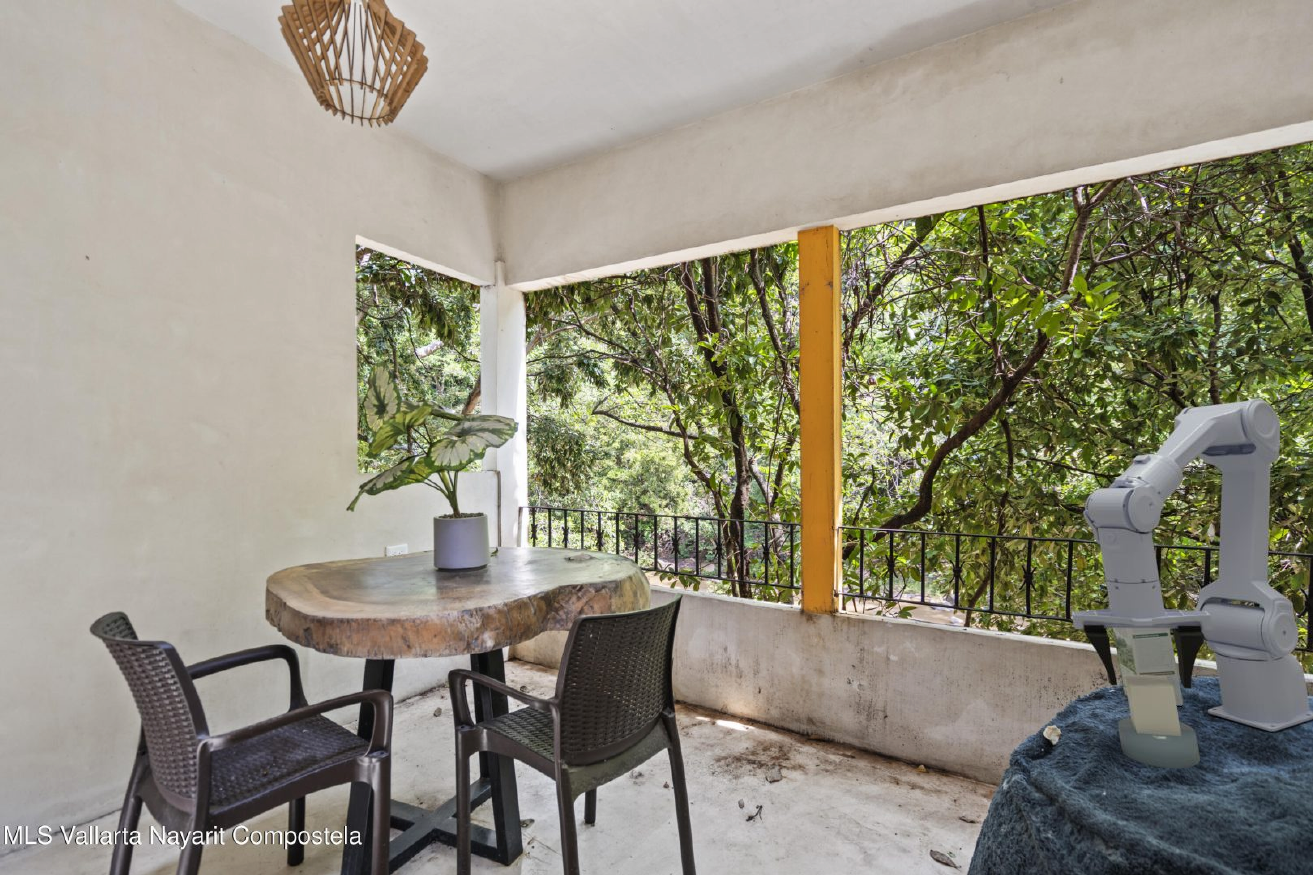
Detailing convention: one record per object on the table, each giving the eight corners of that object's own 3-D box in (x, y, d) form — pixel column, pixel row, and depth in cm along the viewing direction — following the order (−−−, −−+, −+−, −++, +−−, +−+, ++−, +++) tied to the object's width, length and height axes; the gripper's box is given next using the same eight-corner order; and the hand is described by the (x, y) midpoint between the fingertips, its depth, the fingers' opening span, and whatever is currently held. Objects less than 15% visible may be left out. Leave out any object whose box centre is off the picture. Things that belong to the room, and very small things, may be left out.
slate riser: (1152, 737, 88) (1147, 711, 88) (1216, 760, 80) (1211, 731, 81) (1107, 750, 86) (1103, 724, 86) (1168, 775, 78) (1164, 746, 78)
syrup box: (1185, 707, 96) (1169, 608, 96) (1140, 708, 97) (1125, 611, 98) (1163, 693, 101) (1148, 600, 102) (1121, 695, 102) (1107, 603, 103)
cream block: (1131, 719, 87) (1124, 674, 87) (1173, 722, 84) (1165, 675, 85) (1137, 733, 83) (1129, 685, 83) (1181, 736, 81) (1173, 687, 81)
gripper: (1069, 586, 85) (1085, 691, 84) (1210, 584, 78) (1230, 698, 77) (1065, 576, 91) (1080, 673, 90) (1196, 572, 84) (1214, 678, 83)
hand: (1148, 684), depth 84 cm, fingers open, 7 cm apart
